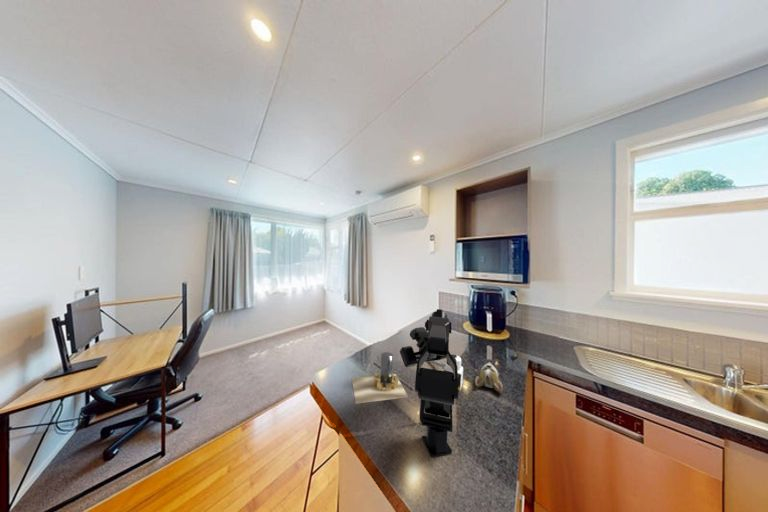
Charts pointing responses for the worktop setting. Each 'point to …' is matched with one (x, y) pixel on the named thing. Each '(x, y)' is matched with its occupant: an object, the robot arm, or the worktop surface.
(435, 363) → the caliper
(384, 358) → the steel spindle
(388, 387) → the ring nut
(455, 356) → the medicine bottle
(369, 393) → the birch plate
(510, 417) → the worktop surface
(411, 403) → the worktop surface
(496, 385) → the ceramic sculpture
